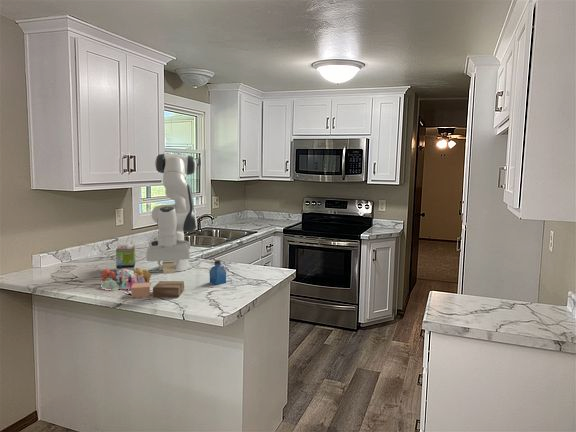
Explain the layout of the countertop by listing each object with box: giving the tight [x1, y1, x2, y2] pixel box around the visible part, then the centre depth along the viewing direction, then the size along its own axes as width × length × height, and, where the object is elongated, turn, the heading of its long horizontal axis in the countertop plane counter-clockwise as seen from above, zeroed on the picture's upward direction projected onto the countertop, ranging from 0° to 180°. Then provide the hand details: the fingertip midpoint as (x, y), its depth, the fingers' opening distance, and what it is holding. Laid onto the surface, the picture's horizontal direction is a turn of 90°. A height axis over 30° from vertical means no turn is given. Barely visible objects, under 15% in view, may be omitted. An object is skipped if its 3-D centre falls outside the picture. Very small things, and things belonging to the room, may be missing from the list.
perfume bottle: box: [209, 259, 227, 286], centre depth 237 cm, size 6×6×12 cm
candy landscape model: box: [101, 267, 152, 291], centre depth 232 cm, size 25×24×9 cm
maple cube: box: [162, 261, 175, 275], centre depth 215 cm, size 5×5×5 cm
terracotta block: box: [130, 282, 151, 298], centre depth 214 cm, size 8×8×5 cm
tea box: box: [115, 244, 137, 275], centre depth 261 cm, size 15×10×15 cm, turn 16°
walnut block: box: [152, 280, 185, 298], centre depth 217 cm, size 12×12×5 cm
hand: (168, 269), depth 215 cm, fingers closed on maple cube, 5 cm apart
